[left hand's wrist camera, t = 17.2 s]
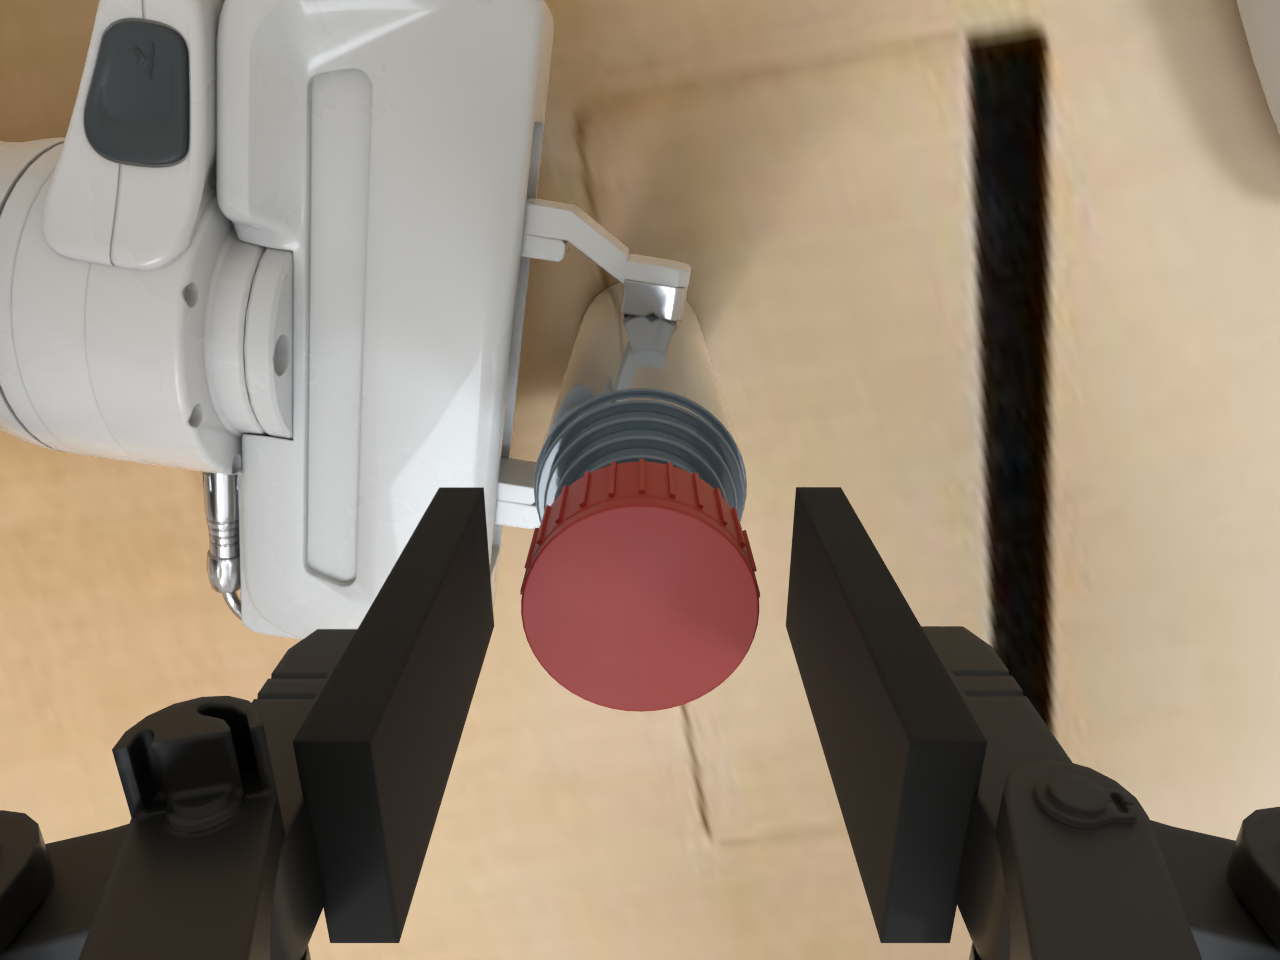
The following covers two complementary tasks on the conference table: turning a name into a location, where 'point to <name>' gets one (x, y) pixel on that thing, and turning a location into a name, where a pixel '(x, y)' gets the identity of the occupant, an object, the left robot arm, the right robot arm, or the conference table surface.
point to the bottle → (639, 404)
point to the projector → (1264, 47)
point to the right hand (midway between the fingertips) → (670, 388)
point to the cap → (640, 588)
